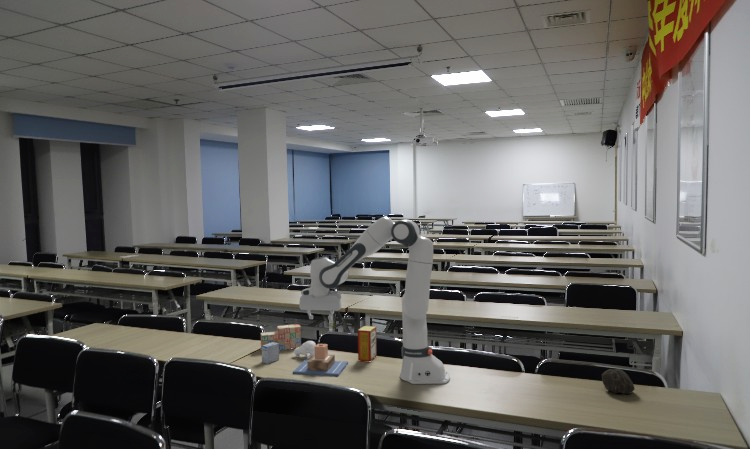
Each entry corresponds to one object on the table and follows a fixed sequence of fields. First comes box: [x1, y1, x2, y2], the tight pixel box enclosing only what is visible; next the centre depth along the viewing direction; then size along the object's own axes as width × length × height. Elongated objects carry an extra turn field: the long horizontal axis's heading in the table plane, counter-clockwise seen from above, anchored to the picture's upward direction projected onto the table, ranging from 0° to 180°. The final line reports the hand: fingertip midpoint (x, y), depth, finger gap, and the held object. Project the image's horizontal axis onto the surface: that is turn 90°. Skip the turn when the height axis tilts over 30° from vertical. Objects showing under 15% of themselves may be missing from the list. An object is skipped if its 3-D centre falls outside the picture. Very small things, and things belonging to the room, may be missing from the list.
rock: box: [601, 368, 635, 395], centre depth 198 cm, size 10×11×10 cm
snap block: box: [314, 343, 329, 360], centre depth 232 cm, size 5×5×6 cm
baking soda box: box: [357, 325, 378, 362], centre depth 247 cm, size 10×6×16 cm
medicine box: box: [261, 342, 280, 365], centre depth 245 cm, size 8×4×9 cm, turn 144°
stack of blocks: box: [260, 323, 302, 351], centre depth 267 cm, size 21×6×12 cm, turn 109°
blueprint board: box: [292, 354, 349, 377], centre depth 233 cm, size 22×18×5 cm
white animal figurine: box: [293, 340, 317, 360], centre depth 251 cm, size 6×8×12 cm
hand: (320, 319), depth 232 cm, fingers open, 8 cm apart
